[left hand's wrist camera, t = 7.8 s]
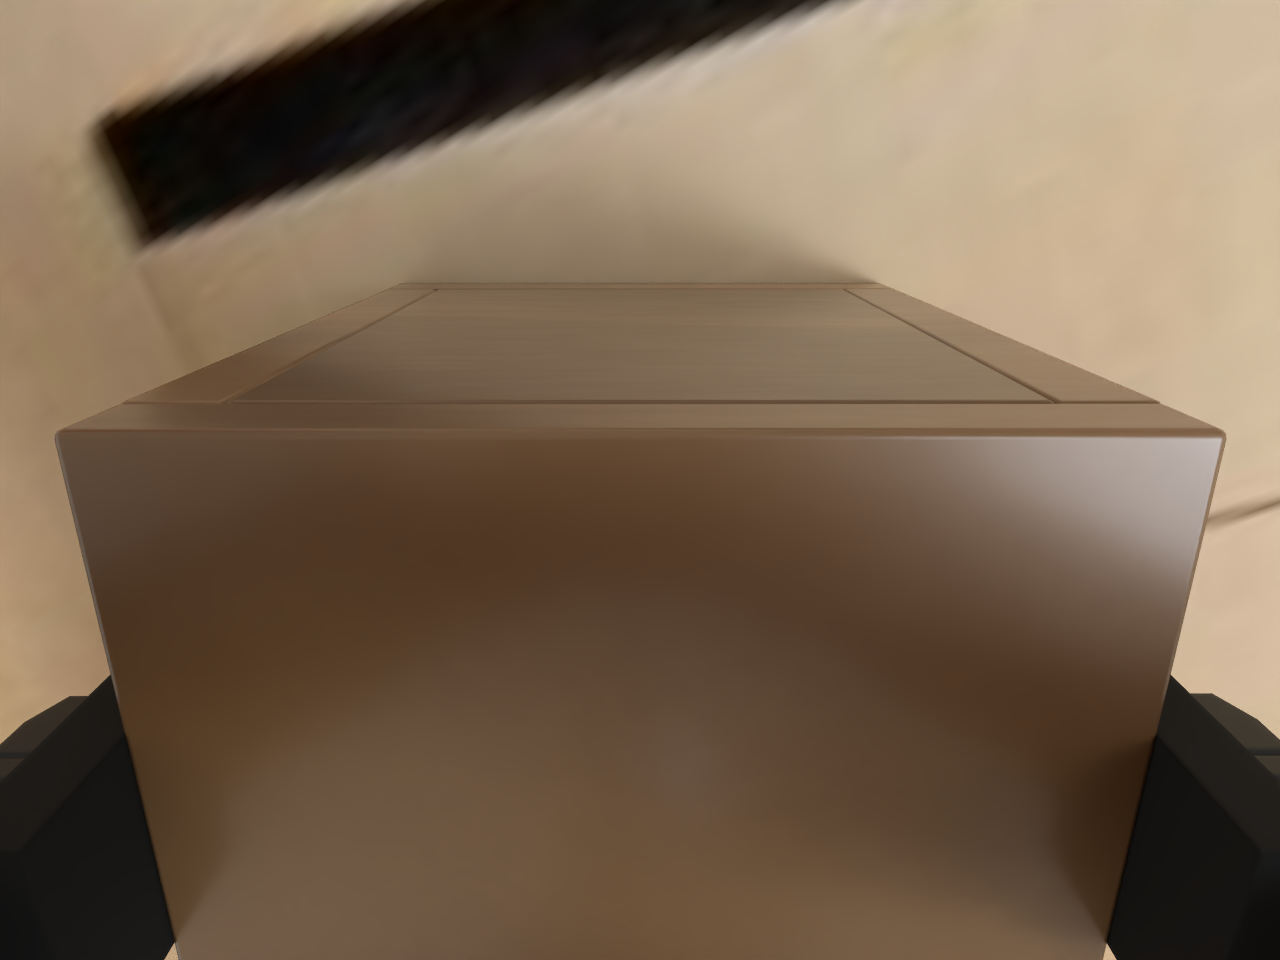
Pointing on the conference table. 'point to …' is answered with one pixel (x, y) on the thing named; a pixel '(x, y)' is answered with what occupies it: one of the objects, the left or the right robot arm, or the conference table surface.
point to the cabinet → (640, 627)
